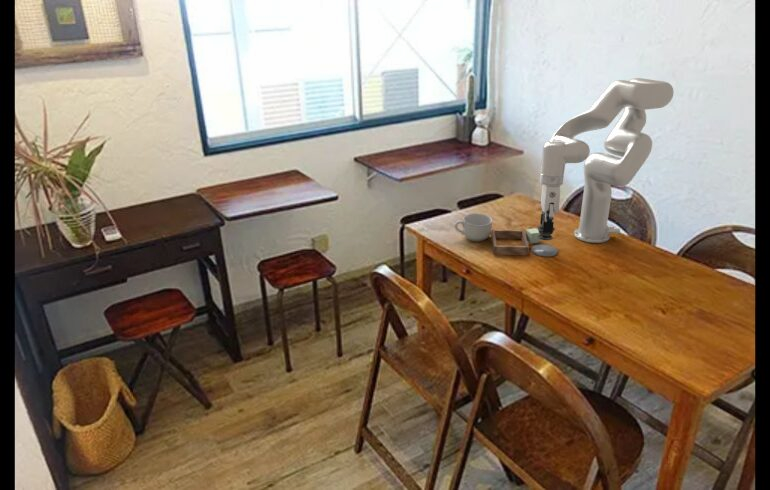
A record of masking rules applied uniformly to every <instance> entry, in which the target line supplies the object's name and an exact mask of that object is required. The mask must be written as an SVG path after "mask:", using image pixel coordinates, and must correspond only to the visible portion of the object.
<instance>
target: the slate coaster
mask: <svg viewBox="0 0 770 490" xmlns="http://www.w3.org/2000/svg"><path fill="white" fill-rule="evenodd" d="M530 251H531V253H532V254H533V255H536V256H538V257H543V258H544V257H545V258H551V257H554V256H557V255H558V252H559V251H558V249H557V247H555V246H553V245H550V244H543V243H542V244H536V245H535V244H534V245H533V246H532V247H531V249H530Z"/></svg>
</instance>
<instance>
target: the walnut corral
mask: <svg viewBox="0 0 770 490" xmlns="http://www.w3.org/2000/svg"><path fill="white" fill-rule="evenodd" d="M490 236H491V237H490V238H491V244H492V252H493V255H504V256H505V255H507V256H508V255H510V256H511V255H515V256H516V255H517V256H529V251H530V245H529V242H528V241H527V238H526V230H524V229H491V233H490ZM497 239H521V243H522V245H497Z"/></svg>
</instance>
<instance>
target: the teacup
mask: <svg viewBox="0 0 770 490" xmlns="http://www.w3.org/2000/svg"><path fill="white" fill-rule="evenodd" d="M462 219H463V220H460V219H458V220H456V221H455V222H454V228H455V230H456V231H457V232H459V233H461V234H462V235H463V236H465V237H466V239H468V240H470V241H471V242H482V241H485V240H486V239H488V238H489V237H490V236H491V234H492V226H493V218H492V217H491V216H490V215H487V214H484V213H479V212H477V213H475V212H474V213H473V212H472V213H468V214H465V216H463V218H462ZM459 224H461V226H462V229H460V228H459V227H458V225H459Z"/></svg>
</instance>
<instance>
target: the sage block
mask: <svg viewBox="0 0 770 490" xmlns="http://www.w3.org/2000/svg"><path fill="white" fill-rule="evenodd" d="M525 234H526V238H527V242H528V244H536V243H541V239H539V238H538V237H537V236H538V235H540V233H539V231H538V228H529V229H526V230H525Z"/></svg>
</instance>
